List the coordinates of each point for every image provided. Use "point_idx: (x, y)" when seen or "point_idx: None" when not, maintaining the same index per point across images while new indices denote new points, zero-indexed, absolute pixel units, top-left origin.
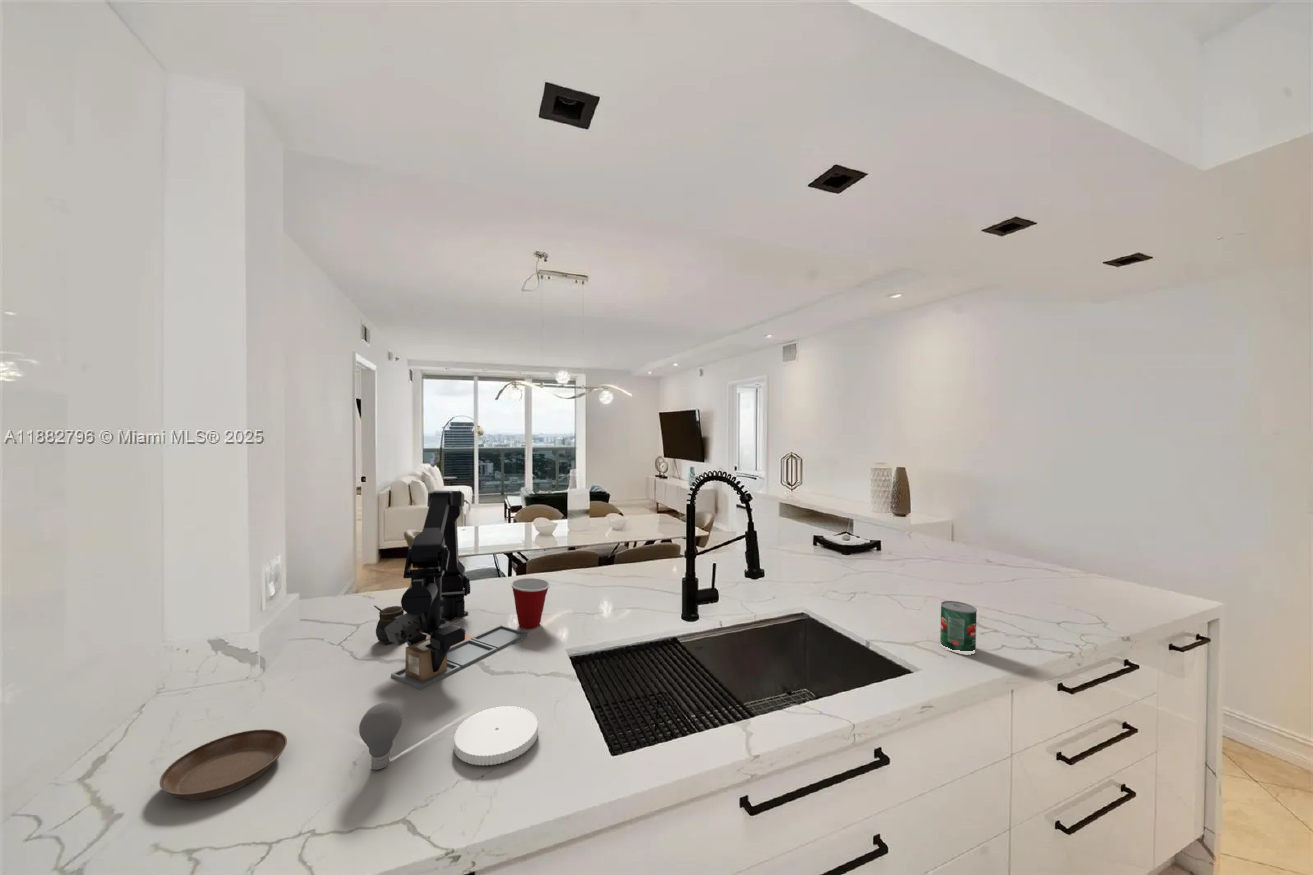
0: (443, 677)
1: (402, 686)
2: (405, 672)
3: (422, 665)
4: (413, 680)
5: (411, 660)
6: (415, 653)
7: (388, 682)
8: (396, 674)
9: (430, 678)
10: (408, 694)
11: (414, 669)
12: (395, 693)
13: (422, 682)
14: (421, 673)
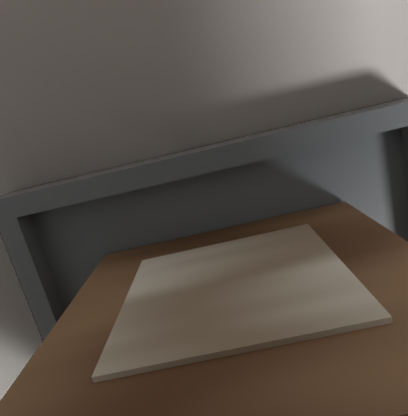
0: None
1: (191, 121)
2: (352, 207)
3: (44, 340)
4: (193, 214)
5: (284, 292)
6: (195, 412)
7: (356, 54)
8: (378, 130)
9: None
10: (20, 109)
11: (210, 262)
12: (110, 31)
13: (103, 253)
14: (98, 283)
